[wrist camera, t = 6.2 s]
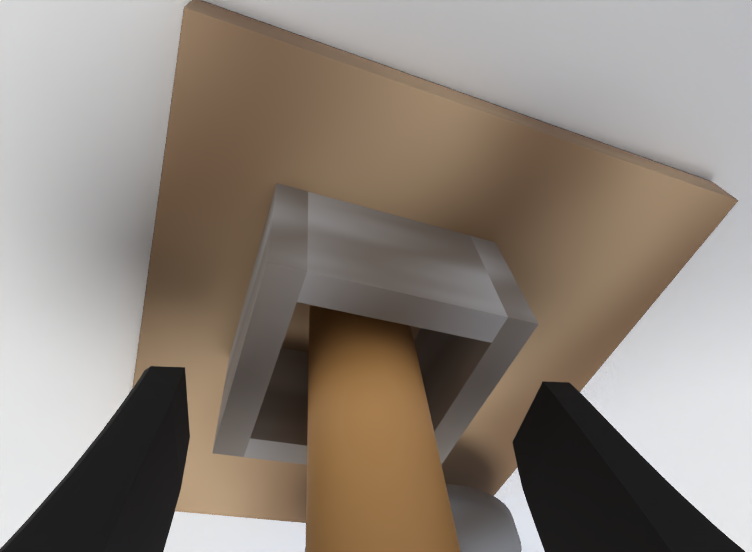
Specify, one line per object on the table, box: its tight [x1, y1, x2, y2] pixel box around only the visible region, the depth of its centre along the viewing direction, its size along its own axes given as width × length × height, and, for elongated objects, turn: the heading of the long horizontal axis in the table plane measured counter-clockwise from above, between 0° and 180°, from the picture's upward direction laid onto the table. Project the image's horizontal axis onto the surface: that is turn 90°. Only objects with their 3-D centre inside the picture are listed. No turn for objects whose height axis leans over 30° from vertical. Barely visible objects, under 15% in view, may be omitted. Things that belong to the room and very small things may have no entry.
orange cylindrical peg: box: [306, 305, 460, 552], centre depth 10 cm, size 2×2×7 cm
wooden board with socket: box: [133, 0, 738, 552], centre depth 14 cm, size 13×17×6 cm
